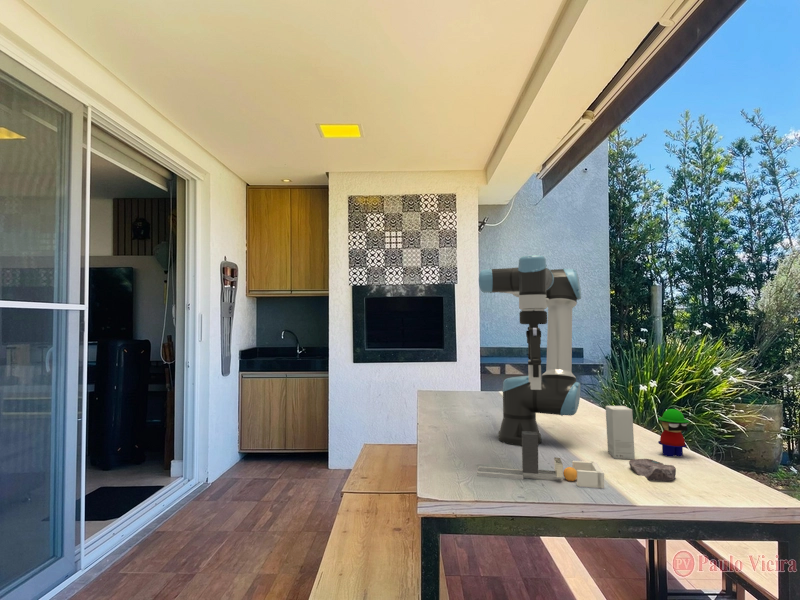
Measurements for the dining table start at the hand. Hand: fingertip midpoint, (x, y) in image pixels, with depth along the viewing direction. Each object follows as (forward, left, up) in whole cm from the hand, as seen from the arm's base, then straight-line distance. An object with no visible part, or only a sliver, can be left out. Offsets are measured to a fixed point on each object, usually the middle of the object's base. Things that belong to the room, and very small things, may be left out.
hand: (534, 385), depth 128 cm
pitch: (+3, -4, -25) cm, 25 cm away
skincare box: (0, +39, -25) cm, 46 cm away
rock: (+17, +27, -25) cm, 41 cm away
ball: (+10, +2, -22) cm, 24 cm away
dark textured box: (+5, -3, -24) cm, 24 cm away
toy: (+9, +54, -25) cm, 60 cm away
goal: (+13, +5, -24) cm, 28 cm away
